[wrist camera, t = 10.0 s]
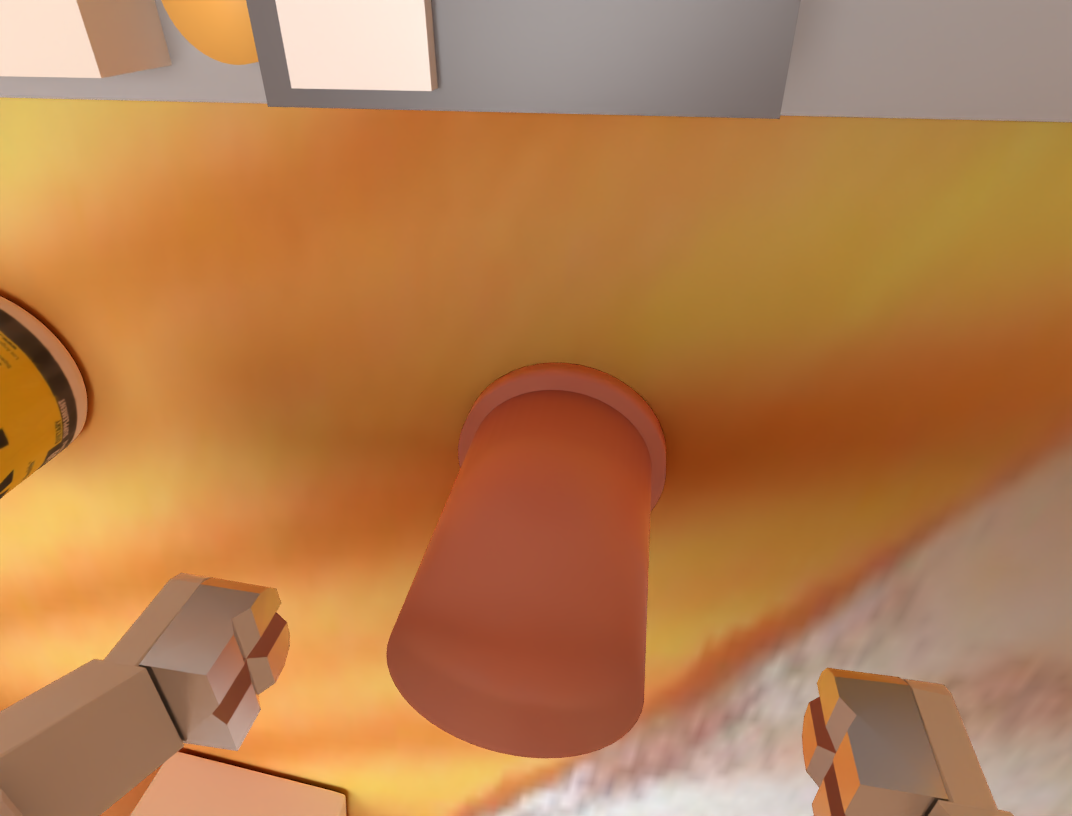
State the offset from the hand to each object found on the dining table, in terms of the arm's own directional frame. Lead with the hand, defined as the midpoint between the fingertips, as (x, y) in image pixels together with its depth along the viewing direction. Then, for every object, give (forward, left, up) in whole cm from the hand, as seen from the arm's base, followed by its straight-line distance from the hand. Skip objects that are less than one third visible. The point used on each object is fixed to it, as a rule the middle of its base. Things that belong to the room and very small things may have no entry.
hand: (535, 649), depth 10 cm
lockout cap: (0, +1, -6) cm, 6 cm away
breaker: (0, -8, -4) cm, 9 cm away
